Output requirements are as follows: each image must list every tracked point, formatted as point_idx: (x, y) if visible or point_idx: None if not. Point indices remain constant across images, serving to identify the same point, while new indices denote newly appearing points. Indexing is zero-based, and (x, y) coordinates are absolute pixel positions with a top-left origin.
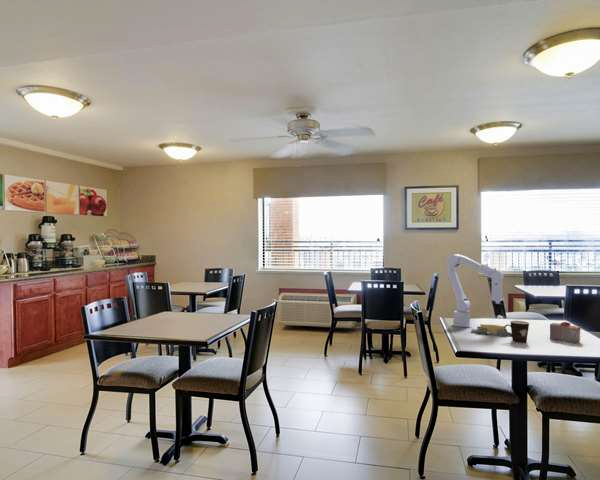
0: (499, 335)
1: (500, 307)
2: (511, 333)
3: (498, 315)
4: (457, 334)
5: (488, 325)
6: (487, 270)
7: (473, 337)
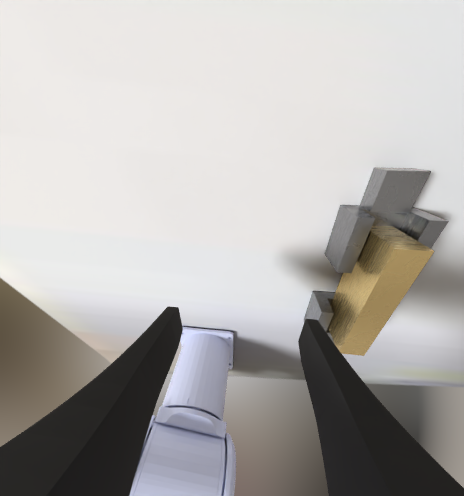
0: None
1: (426, 460)
2: (424, 183)
3: (317, 324)
4: (373, 371)
5: (380, 327)
6: None
7: (430, 341)
